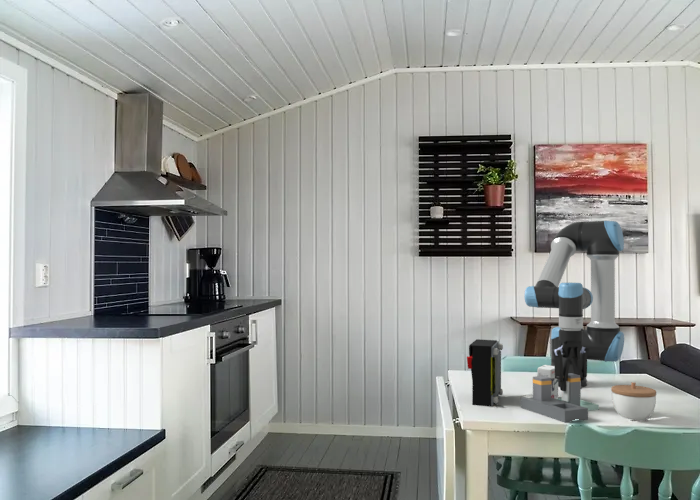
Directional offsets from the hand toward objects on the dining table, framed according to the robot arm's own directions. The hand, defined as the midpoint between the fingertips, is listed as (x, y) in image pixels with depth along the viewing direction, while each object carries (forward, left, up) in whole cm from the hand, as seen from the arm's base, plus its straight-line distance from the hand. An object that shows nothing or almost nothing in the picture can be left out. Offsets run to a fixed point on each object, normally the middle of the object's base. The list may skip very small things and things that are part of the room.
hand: (571, 399), depth 197 cm
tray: (0, 0, -3) cm, 3 cm away
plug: (0, 0, -2) cm, 2 cm away
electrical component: (-20, -19, -3) cm, 28 cm away
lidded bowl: (+17, +9, -3) cm, 19 cm away
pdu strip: (+5, -12, -3) cm, 14 cm away
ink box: (-12, +1, -3) cm, 12 cm away
